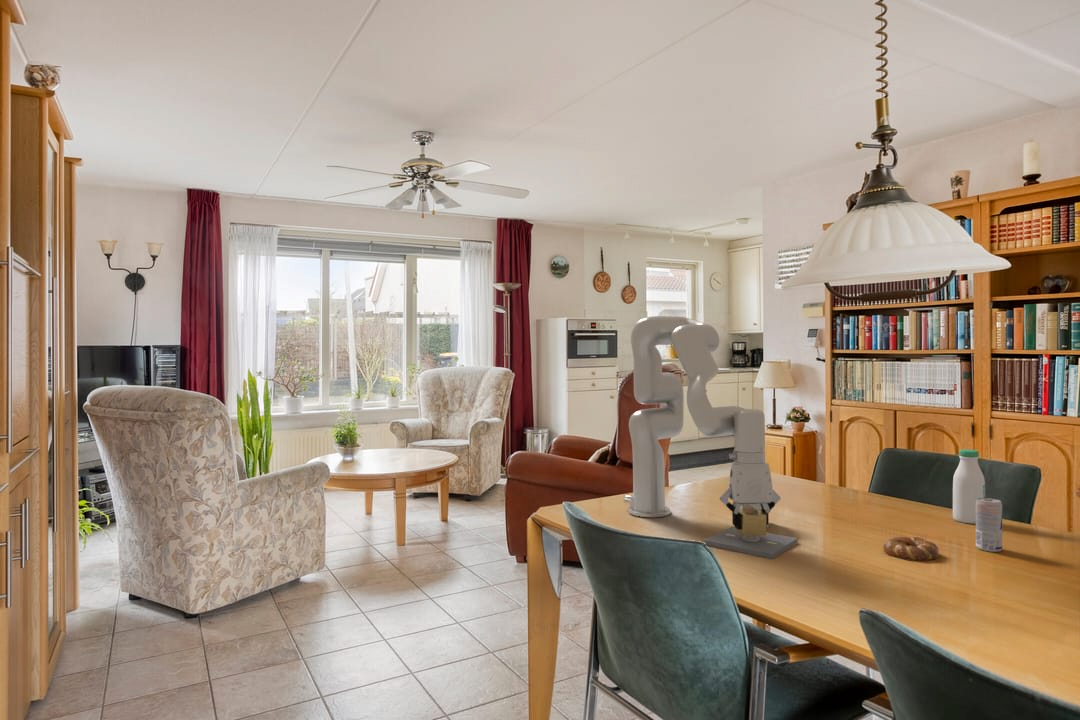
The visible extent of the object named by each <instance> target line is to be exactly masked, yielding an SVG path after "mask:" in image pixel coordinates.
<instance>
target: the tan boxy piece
mask: <svg viewBox="0 0 1080 720" xmlns="http://www.w3.org/2000/svg"><path fill="white" fill-rule="evenodd" d="M739 514H740V515H741V529H740V530H738V529H736V528H735V530H736V531H737V532H739V533H740V534H741V535H742V536H766V533H767V529H766V514H765V513H763V512H762V511H760V510H759V509H755V508H754V507H752V506H751V505H749V504H743V509H740V510H739Z"/></svg>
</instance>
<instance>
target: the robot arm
mask: <svg viewBox="0 0 1080 720" xmlns="http://www.w3.org/2000/svg"><path fill="white" fill-rule="evenodd" d="M630 335H631V336H630V343H631V349H632V356H633V395H634V399H635V401H636V402H637V403H638V404H641V405H659V407H655V408H654V407H653V408H644V409H643V408H642V409H639V410H637V411H635V412H633V413H632V414H631V416H630V417H629V420H628V432H629V435H630V439H631V446H632V447H631V448H632V484H633V486H632V493H633V494H632V495H629V494H628V495H627V494H626V495H625V496H624V498H623V503H626V504H629V505H630V506H629V507H628V508H627V509H628V513H629V514H630V515H632V516H635V517H639V516H640V517H641V518H660V517H666V516H668V515H670V514H671V508H670V507H668V506H667V505H666V491H665V490H666V488H665V487H666V485H665V484H666V483H665V482H666V481H665V478H666V477H665V475H666V474H665V471H666V470H665V453H664V450H663V447H662V446H661V444H660V442H659V440H665V439H670V438H675V437H677V436H679V435H680V434H681V432H682V431H683V426H684V417H685V416H684V414H685V413H684V409H685V407H684V404H685V403H684V400H685V398H684V386H683V383H682V380H681V379H680V377H679V376H678V375H677V374H675V373H673V372H668V371H666V372H663V360H662V356H661V353H660V351H659V350H658V348H657V347H656V346H672V347H673V349H674V351H675V353H676V355H677V358H678V359H679V362H680V365H681V366H682V368H683V369H684V370H683V371H684V372H685V375H686V376H687V379H688V381H689V382H688V385H687V390H686V404H687V409H688V411H689V414H690V416H691V418H692V420H693V423H694V425H695V426H696V428H697V430H698V431H699V432H700V433H701V434H703V435H704V436H705V437H709V438H711V437H712V438H713V437H714V438H715V437H721V436H731V435H733V448H734V449H733V453H728V458H729V459H730V460H733V462H732V463H731V466H730V473H729V480H728V488H727V490H726V491H724V493H723V494H722V495H721V496H720V497H719V501H720V502H721V503H723V504H724V506H726V508H728V509H729V510H730V511H731V512H732V513H731V514H732V518H731V519H732V526H733V527H735V528H736V529H738V530H740V529H741V515H740V514H739V510H740V508H741V505H742V504H760V506H761V508H762V509H761V510H760V511H762V512H763V513H765V514H766V530H768V528H767V525H768V513H769V514H770V512H771V511H772V509H773V508H774V507H775V506H776V504H778V502H779V501H780V500H781V499H782V498H781V496H780V495H779V494H778V493H777V492H776V491H775V490H774V489H773V481H772V474H771V468H770V465H769V463H768V462H766V420H765V419H766V417H765V413H764V411H762V410H761V409H758V408H743V407H740V406H736V405H727V406H726V405H725V406H717V407H715V406H714V407H713V406H712V403H711V402H710V399H709V398H708V395H707V392H706V386H707V383H708V382H710V381H711V380H712V379H714V378H715V377H716V376H717V375H718V373H719V366H718V364H717V363H716V361H715V359H714V357H713V354H712V353H714V352H716V350H717V349H718V348H719V346H720V337H719V336H720V335H719V333H718V331H717V330H716V329H715V327H714V326H712V325H710V324H707V323H706V322H702V321H698V320H695V319H692V318H689V317H684V316H665V315H664V316H659V315H658V316H656V315H655V316H647V317H643V318H641V319H639V320H638V321H637V322H636V323H635V324H634V325H633V328H632V330H631V334H630ZM728 499H730V500H732V503H731V502H730V501H729V500H728Z"/></svg>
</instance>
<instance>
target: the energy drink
mask: <svg viewBox="0 0 1080 720" xmlns="http://www.w3.org/2000/svg"><path fill="white" fill-rule="evenodd" d="M975 547H976V548H977V549H978V550H980V549H981V550H980V551H983V550H984V551H983V552H988V551H989V552H988V553H999V552H1002V551H1003V503H1002V501H1001V500H1000V499H996V498H991V497H985V498H977V501H976V524H975Z"/></svg>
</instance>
